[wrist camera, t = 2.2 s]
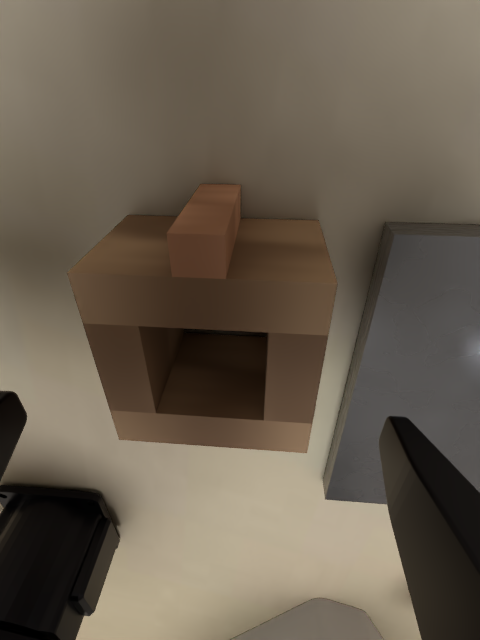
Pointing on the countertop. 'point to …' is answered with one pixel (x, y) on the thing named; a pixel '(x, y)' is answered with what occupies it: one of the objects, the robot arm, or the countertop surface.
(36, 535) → the robot arm
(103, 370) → the wooden cubby with handle
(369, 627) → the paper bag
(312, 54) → the countertop surface
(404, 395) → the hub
